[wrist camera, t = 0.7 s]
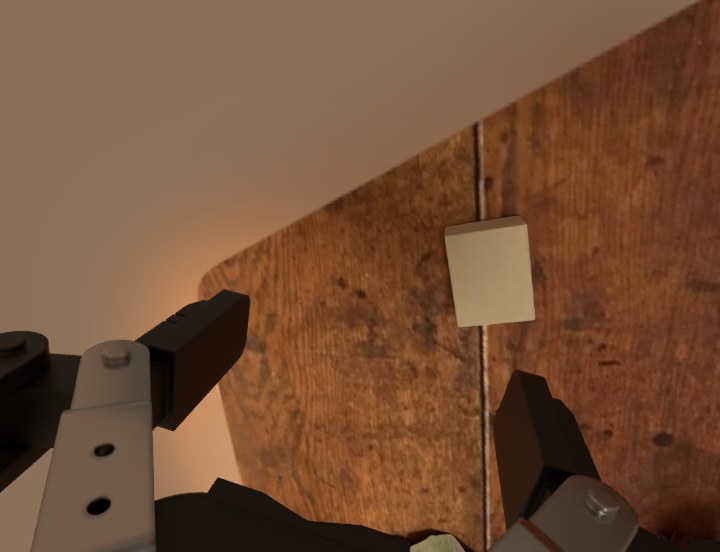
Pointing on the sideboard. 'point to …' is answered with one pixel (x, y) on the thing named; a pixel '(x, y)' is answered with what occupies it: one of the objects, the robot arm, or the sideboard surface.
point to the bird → (673, 536)
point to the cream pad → (490, 271)
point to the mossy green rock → (438, 544)
